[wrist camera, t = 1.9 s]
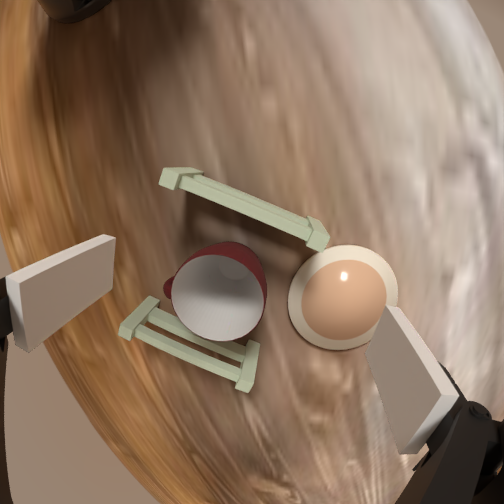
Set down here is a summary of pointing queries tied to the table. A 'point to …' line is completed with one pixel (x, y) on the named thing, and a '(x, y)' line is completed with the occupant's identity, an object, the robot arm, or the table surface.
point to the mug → (219, 292)
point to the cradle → (150, 312)
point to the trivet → (341, 296)
